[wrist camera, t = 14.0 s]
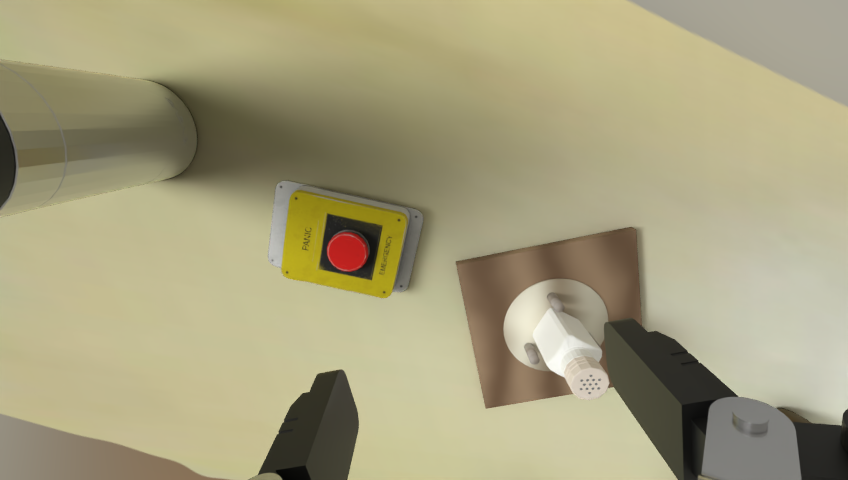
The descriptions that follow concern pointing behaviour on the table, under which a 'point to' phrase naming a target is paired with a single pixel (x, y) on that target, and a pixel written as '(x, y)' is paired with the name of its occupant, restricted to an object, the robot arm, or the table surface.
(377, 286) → the emergency button
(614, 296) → the pin board
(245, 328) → the table surface
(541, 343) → the pepper shaker
